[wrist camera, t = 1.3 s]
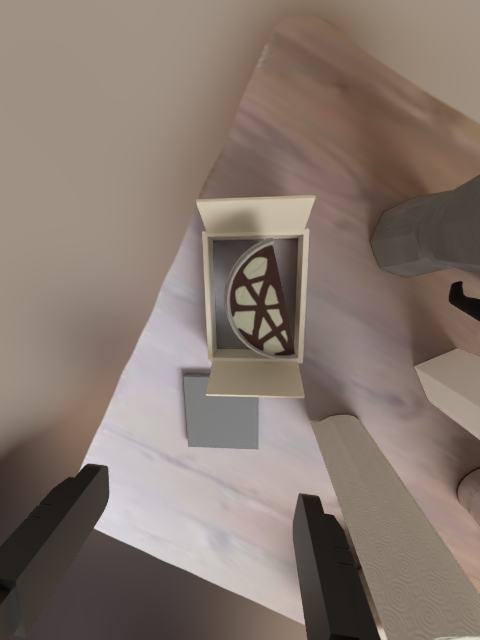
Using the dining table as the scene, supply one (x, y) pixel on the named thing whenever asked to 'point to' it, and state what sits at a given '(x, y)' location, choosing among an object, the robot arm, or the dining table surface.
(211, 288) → the carton
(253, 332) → the food container
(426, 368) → the milk
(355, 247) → the dining table surface
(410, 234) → the coffeepot
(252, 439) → the trivet
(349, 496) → the paper towel roll
